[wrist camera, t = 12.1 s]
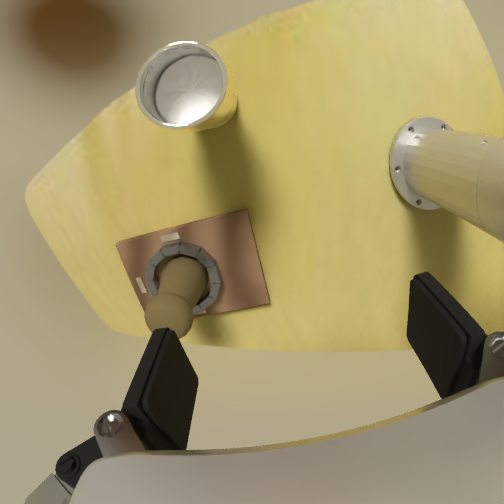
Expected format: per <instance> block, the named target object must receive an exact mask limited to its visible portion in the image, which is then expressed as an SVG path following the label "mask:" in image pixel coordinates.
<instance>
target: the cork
mask: <svg viewBox="0 0 504 504" xmlns="http://www.w3.org/2000/svg"><path fill="white" fill-rule="evenodd" d="M208 281H209V273H208V271H207V268H206V267H205V266H204V265H203V264H202V263H201V262H200V261H199V260H198V259H196V258H195V257H191V256H188V255H178V256H175V257H173V258H172V259H170V260H169V261H168V263H167V264H166V266H165V269H164V273H163V276H162V279H161V283H160V286H159V290H158V293H157V295H156V296H154V297H153V298H152V299H151V300H150V301H149V303H148V304H147V306H146V309H145V321H146V324H147V326H148V328H149V330H150V331H151V332H152V333H153V331H154V330H155V329H159V328H166V327H168V328H170V329H171V330H174V331H175V332H176V334H177V337H178V339H180V338H182V337H183V336H185V335H186V334H187V333H188V332H189V330H190V329H191V327H192V323H193V309H194V307H195V305H196V304H197V302H198V300H199V298H200V297H201V295H202V293H203V292H204V290H205V288H206V286H207V284H208Z"/></svg>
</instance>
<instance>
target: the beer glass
mask: <svg viewBox="0 0 504 504" xmlns="http://www.w3.org/2000/svg"><path fill="white" fill-rule="evenodd" d="M135 93H136V99H137V103H138V106H139V108H140V110H141V111H142V113H143V114H144V115H145V116H146V117H147V118H148V119H149V120H150V121H151V122H153V123H154V124H156V125H158V126H161V127H164V128H168V129H172V130H176V131H182V132H197V131H202V130H206V129H209V128H216V127H219V126H222V125H224V124H225V123H227V122H228V121H229V120H230V119H231V118H232V117H233V115H234V113H235V111H236V108H237V96H236V87H235V82H234V78H233V75H232V73H231V71H230V69H229V68H228V66H227V65H226V63H225V62H224V61H223V60H222V59H221V57H220V56H219V55H218V54H217V53H216V52H215V51H214V50H213V49H211V48H210V47H208V46H206V45H204V44H201V43H197V42H191V41H183V42H176V43H172V44H169V45H167V46H164V47H162V48H161V49H159V50H158V51H156V52H155V53H153V54H152V55H151V56H150V57H149V58H148V59H147V60H146V62H145V63H144V64H143V66H142V68H141V70H140V72H139V74H138V77H137V81H136V87H135Z"/></svg>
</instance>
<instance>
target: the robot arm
mask: <svg viewBox="0 0 504 504" xmlns="http://www.w3.org/2000/svg"><path fill="white" fill-rule="evenodd" d="M408 128H409V131H408ZM389 164H390V173H391V177H392V181H393V183H394V185H395V188H396V189H397V191H398V192H399V194H400V195H401V196H402V197H403V199H404V200H405V201H407V202H408V203H410V204H411V205H413V206H415V207H416V208H419V209H423V210H435V209H439V208H441V207H442V208H444V209H445V210H447V211H449V212H451V213H453V214H455V215H457V216H458V217H460V218H462V219H464V220H466V221H467V222H469V223H471V224H473V225H474V226H476V227H478V228H479V229H481V230H483V231H484V232H486V233H488V234H489V235H491V236H493V237H495V238H496V239H498V240H500V241H501V242H504V137H498V136H491V135H485V134H478V133H470V132H461V131H454V130H453V129H452V128H451V127H450V126H449V125H448V124H447V123H445V122H444V121H442V120H440V119H437V118H434V117H418V118H415V119H412V120H410V121H409V122H407V123H406V124H405V125H404V126H403V127H402V128H401V129H400V130H399V131H398V133H397V134H396V136H395V138H394V141H393V143H392V146H391V150H390V159H389ZM395 168H397V169H396V170H395ZM416 201H417V202H416ZM407 338H408V341H409V343H410V344H411V346H412V348H413V349H414V351H415V353H416V354H417V356H418V358H419V360H420V361H421V363H422V365H423V366H424V368H425V370H426V372H427V373H428V375H429V377H430V379H431V381H432V382H433V384H434V386H435V388H436V389H437V391H438V393H439V395H440V397H441V398H442V400H439V401H436V402H434V403H431V404H429V405H426V406H423V407H421V408H418V409H415V410H413V411H410V412H407V413H404V414H402V415H398V416H395V417H392V418H389V419H386V420H383V421H380V422H376V423H373V424H369V425H366V426H362V427H358V428H354V429H350V430H347V431H342V432H338V433H334V434H329V435H325V436H320V437H315V438H309V439H304V440H298V441H292V442H286V443H279V444H272V445H263V446H255V447H244V448H231V449H212V450H186V448H187V442H188V436H189V431H190V426H191V420H192V415H193V409H194V404H195V399H196V393H197V388H198V377H197V375H196V373H195V371H194V369H193V367H192V365H191V363H190V361H189V359H188V357H187V355H186V353H185V351H184V349H183V347H182V345H181V343H180V341H179V339H178V337H177V334H176V332H175V331H174V330H171V329H170V328H168V327H166V328H159V329H155V330H154V331H153V333H152V335H151V338H150V340H149V342H148V345H147V347H146V349H145V351H144V354H143V356H142V358H141V361H140V363H139V366H138V368H137V370H136V373H135V375H134V378H133V380H132V382H131V385H130V387H129V390H128V392H127V395H126V397H125V400H124V402H123V407H122V409H121V411H119V410H111V411H108V412H105V413H104V414H102V415H101V416H100V417H99V418H98V419H97V421H96V422H95V424H94V429H93V430H94V434H95V436H93V437H92V438H90V439H88V440H86V441H85V442H83V443H82V444H80V445H78V446H77V447H75V448H73V449H72V450H70V451H68V452H67V453H65V454H63V456H61V457H60V458H59V460H58V461H57V464H56V469H55V470H56V474H55V475H54V474H52V473H51V474H50V475H49V476H48V477H47V478H46V479H45V480H44V481H43V482H42V484H40V485H39V486H38V487H37V488H36V489H35V490H34V491H33V492H32V493H31V494H30V495H29V496H28V497H27V499H26V500H25V504H504V332H494V333H492V334H490V335H489V336H487V335H486V334H485V332H484V330H483V329H482V328H481V327H480V326H479V324H478V323H477V322H476V321H475V320H474V319H473V318H472V317H471V316H470V314H469V313H468V312H467V311H466V310H465V309H464V308H463V307H462V306H461V305H460V304H459V303H458V302H457V300H456V299H455V298H454V297H453V296H452V295H451V294H450V293H449V292H448V291H447V290H446V289H445V288H444V287H443V286H442V285H441V284H440V283H439V282H438V281H437V280H436V279H435V278H434V277H433V276H432V275H431V274H430V273H429V272H424V273H421V274H417V275H415V276H414V278H413V280H411V281H410V295H409V311H408V324H407Z"/></svg>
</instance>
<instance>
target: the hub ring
mask: <svg viewBox="0 0 504 504" xmlns="http://www.w3.org/2000/svg"><path fill="white" fill-rule="evenodd" d="M200 247H201V246H199V245H195V244H192V243H188V242H185V241H182V242H181V241H179V242H174V243H170V244H166V245H164V246H162V247H161V248H160V249H159V250H158V251H157V253H156V254H155V255H154V256H153V257H152V258H151V259H150V261H149V262H148V266H147V273H146V282H147V284H148V287H149V289H150V291H151V294H152V296H153V297H154V296H156V295H157V293H158V290H159V286H160V283H159V281H158V278H157V276H156V273H157V267H158V263H159V262H160V261H161V260H162V259H163V258H164V257H165V256H170V255H174V254H178V253H181V254H184V255H188V256H191V257H195V258H196V259H198V260H199V261H200V262H201V263H202V264H203V265H204V266H205V267H206V268H207V269H208V271H209V274H210V277H211V280H212V287H211V290H210V291H209V292H208V293H207V294H206V295H205V296H203V297H202V298H201V299H199V300H198V302H197V304H196V305H195V307H194V309H193V313H194V312H200V311H202V310H205V309H206V308H207V307H208V306H209V305H211V304H212V303H213V302H214V301H215V300H216V298H217V295H218V291H219V288H220V284H221V279H222V277H221V273H220V270H219V267H218V264H217V261H216V259H215V258H214V257H212V256H211V255H210V254H209V253H208V252H207V251H206V250H205V249H204V248H203V247H201V248H200Z"/></svg>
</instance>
